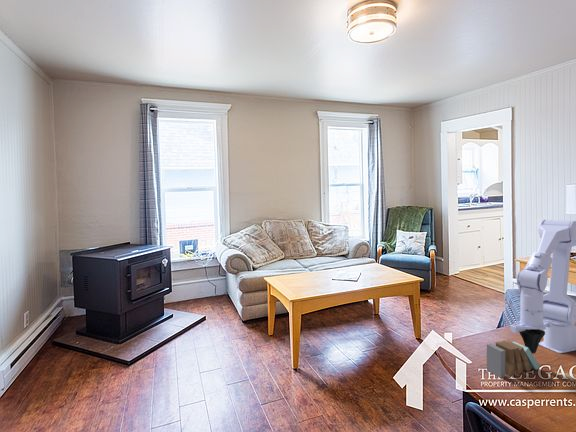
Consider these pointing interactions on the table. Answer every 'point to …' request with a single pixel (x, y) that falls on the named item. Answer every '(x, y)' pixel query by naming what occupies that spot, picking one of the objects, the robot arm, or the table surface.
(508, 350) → the domino
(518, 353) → the domino
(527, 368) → the domino
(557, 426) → the table surface
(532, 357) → the teal domino
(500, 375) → the charcoal domino
